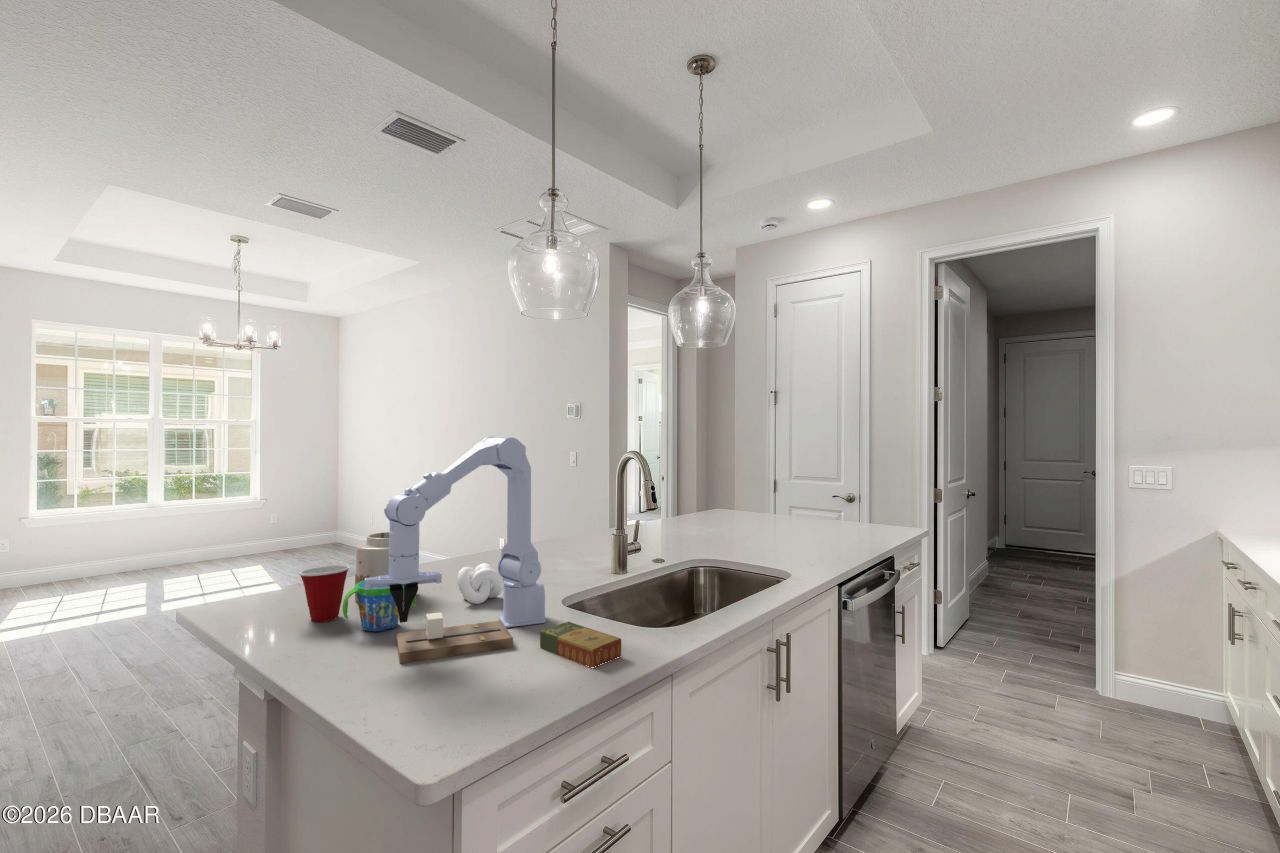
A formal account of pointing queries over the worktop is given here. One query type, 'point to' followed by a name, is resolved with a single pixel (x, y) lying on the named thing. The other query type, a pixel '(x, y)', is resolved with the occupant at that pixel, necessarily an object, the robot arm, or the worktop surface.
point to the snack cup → (375, 607)
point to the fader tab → (434, 625)
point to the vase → (372, 558)
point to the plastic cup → (324, 591)
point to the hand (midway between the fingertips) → (403, 620)
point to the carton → (580, 644)
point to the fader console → (453, 641)
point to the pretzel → (479, 583)
